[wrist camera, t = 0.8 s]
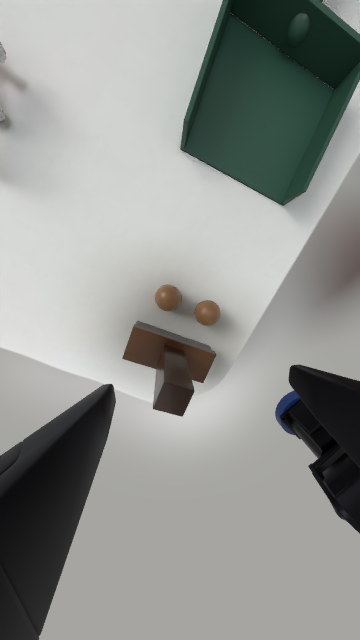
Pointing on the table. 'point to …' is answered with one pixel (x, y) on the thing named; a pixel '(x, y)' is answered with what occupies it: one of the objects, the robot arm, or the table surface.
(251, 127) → the dustpan
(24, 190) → the table surface
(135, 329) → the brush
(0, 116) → the molecular model
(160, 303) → the brown egg
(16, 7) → the table surface
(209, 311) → the brown ball
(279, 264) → the table surface
